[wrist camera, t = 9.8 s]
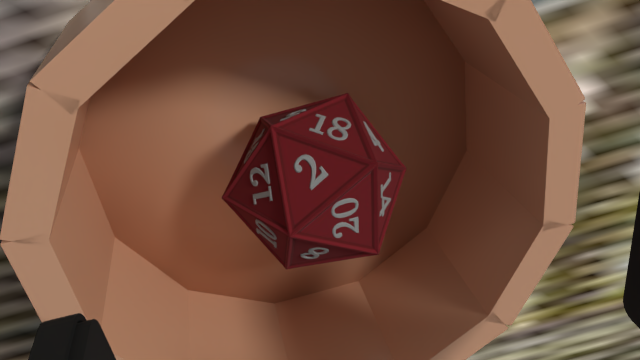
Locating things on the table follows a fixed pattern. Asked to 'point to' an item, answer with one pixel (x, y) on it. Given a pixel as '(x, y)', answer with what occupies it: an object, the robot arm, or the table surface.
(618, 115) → the table surface
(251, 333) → the bowl
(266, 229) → the dice
